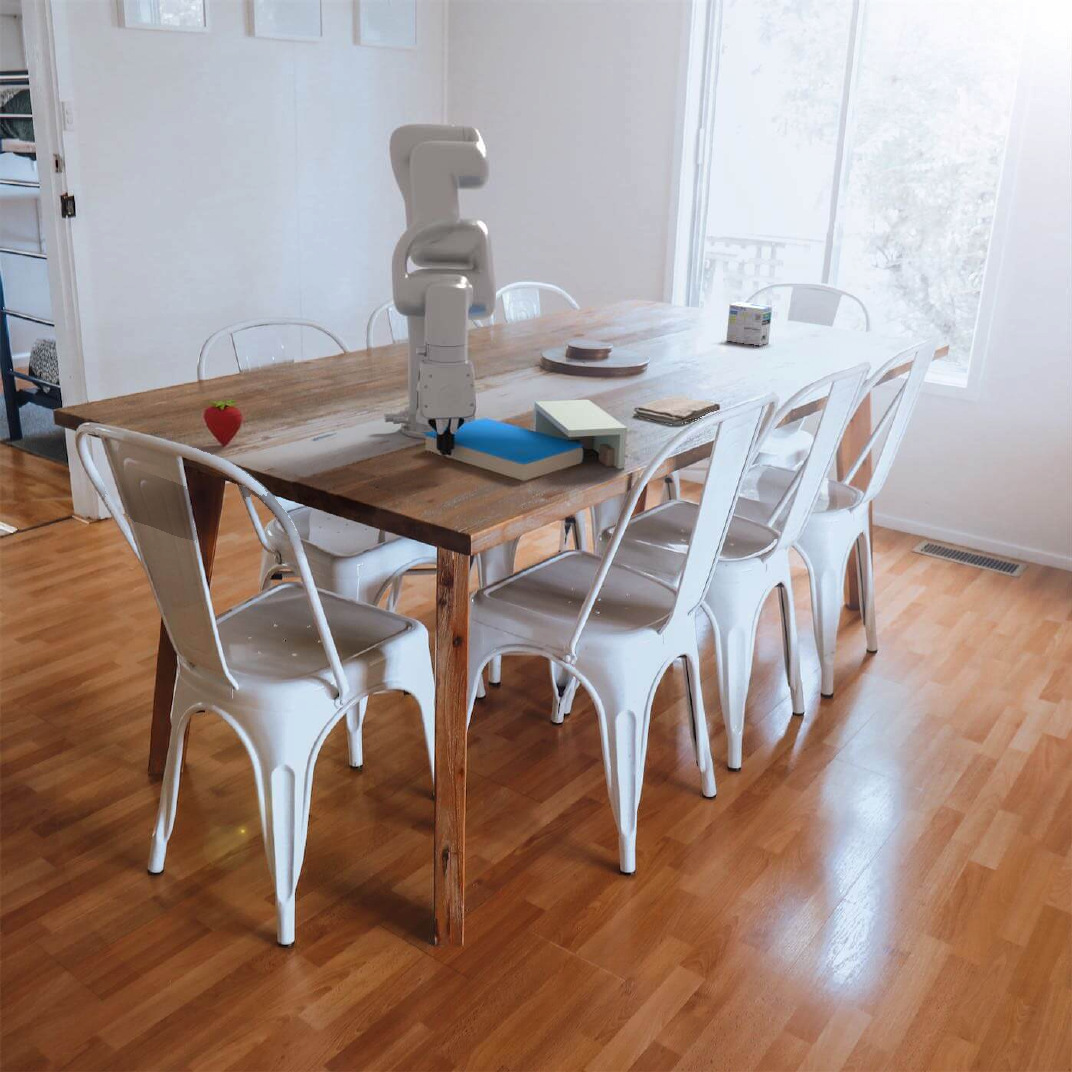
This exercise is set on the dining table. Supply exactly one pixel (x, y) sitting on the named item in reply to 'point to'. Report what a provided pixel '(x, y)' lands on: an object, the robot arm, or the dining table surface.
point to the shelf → (583, 427)
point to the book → (509, 449)
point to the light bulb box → (749, 323)
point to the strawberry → (223, 420)
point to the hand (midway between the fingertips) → (445, 453)
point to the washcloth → (675, 410)
